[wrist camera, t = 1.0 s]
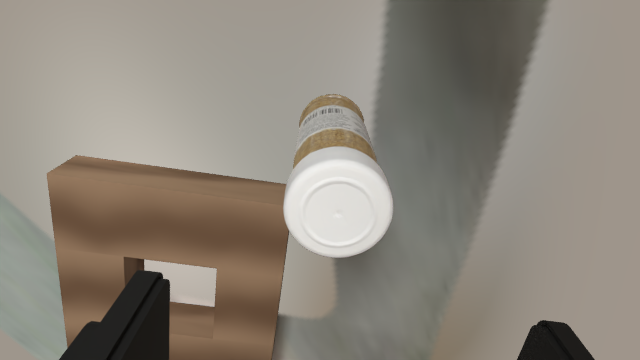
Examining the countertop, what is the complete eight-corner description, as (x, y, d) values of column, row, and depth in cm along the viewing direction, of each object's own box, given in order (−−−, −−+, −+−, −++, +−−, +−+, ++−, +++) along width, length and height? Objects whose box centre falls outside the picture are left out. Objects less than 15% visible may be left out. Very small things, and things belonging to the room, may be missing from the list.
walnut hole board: (76, 155, 30) (46, 173, 27) (295, 185, 31) (291, 206, 28) (92, 343, 37) (71, 375, 34) (271, 363, 38) (266, 397, 35)
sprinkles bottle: (301, 156, 30) (285, 263, 18) (297, 93, 28) (277, 163, 16) (365, 154, 30) (393, 260, 18) (365, 90, 28) (397, 159, 16)
